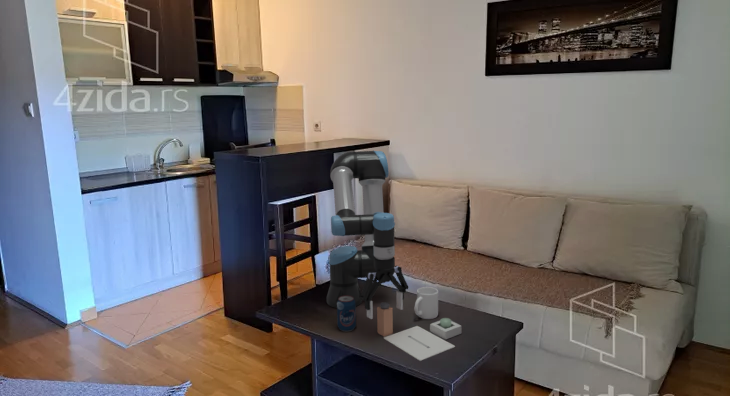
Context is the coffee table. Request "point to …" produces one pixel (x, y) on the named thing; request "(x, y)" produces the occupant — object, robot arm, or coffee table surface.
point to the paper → (419, 343)
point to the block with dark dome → (385, 319)
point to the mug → (427, 303)
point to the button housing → (445, 330)
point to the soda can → (346, 313)
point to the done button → (445, 323)
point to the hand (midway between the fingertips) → (385, 313)
